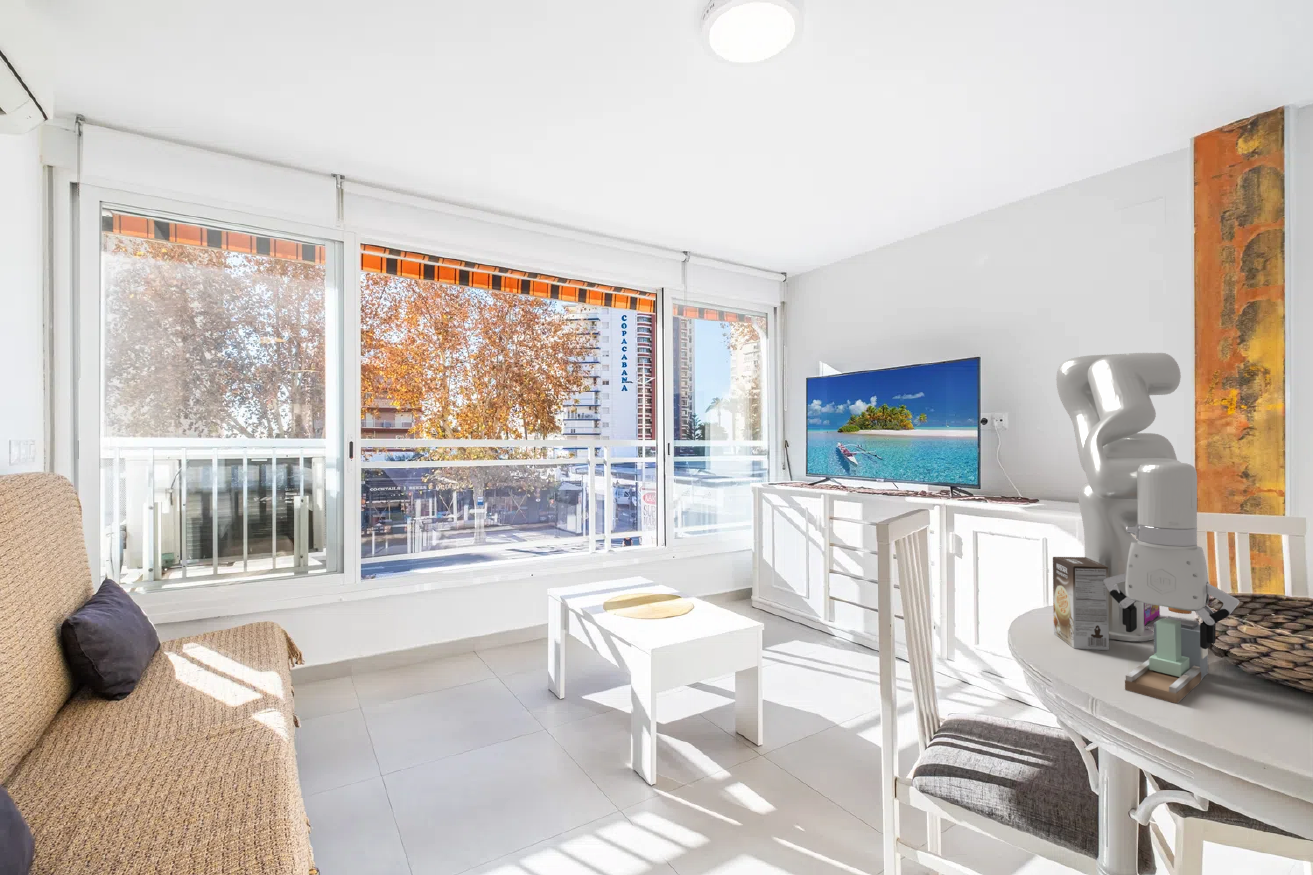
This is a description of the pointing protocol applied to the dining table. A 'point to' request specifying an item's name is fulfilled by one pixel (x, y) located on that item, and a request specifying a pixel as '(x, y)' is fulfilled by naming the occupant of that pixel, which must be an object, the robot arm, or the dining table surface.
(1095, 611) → the coffee box
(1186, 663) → the carriage
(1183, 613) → the button
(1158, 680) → the rail track
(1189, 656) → the grey upright housing
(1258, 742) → the dining table surface
